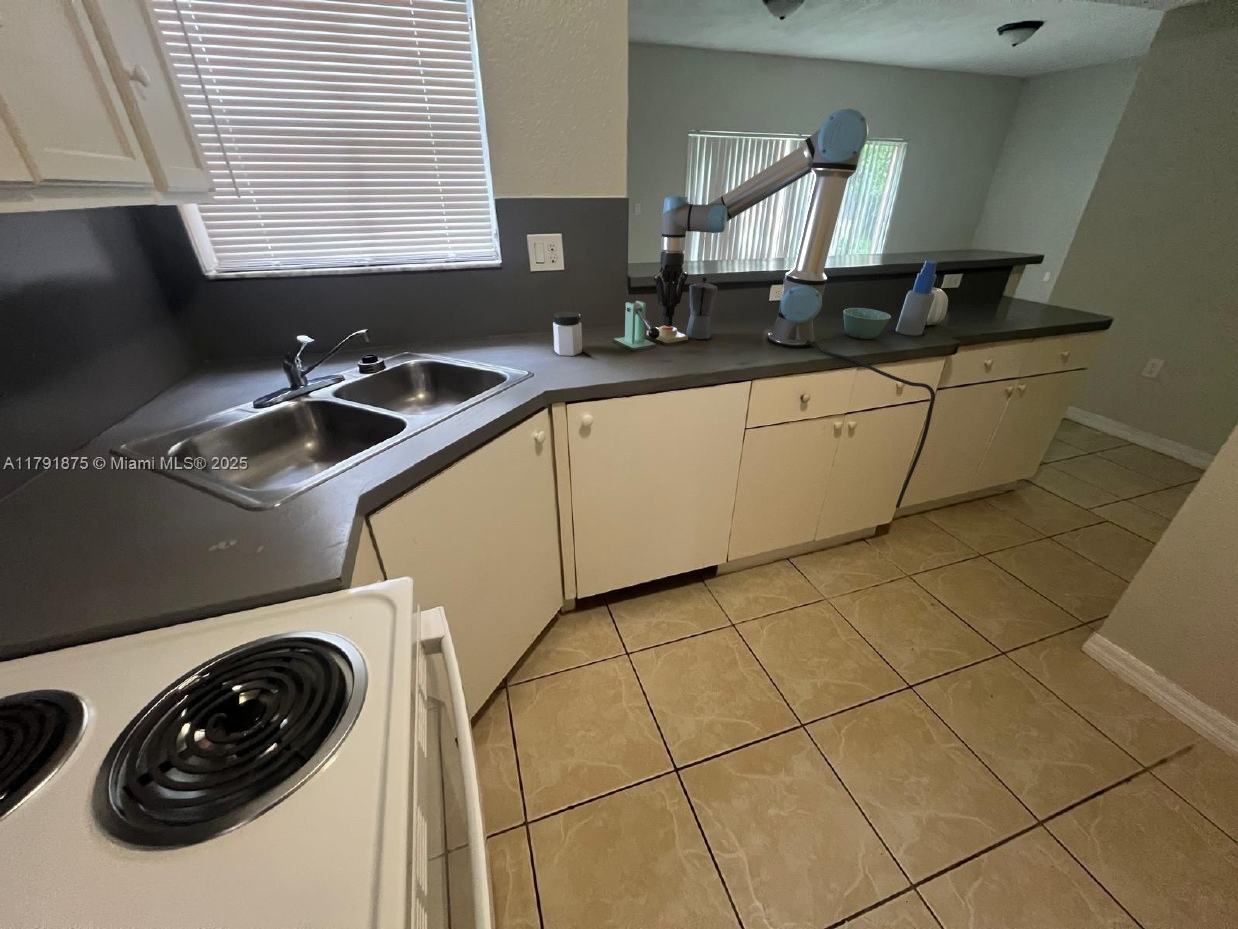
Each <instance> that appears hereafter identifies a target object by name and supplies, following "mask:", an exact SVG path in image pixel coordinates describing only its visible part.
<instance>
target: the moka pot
mask: <svg viewBox="0 0 1238 929" xmlns="http://www.w3.org/2000/svg"><path fill="white" fill-rule="evenodd" d="M701 280H702V282H698V283H693V284H690V285H689V309H690V312H689V313H690V314H689V320H688V324H687V327H686V331H685V335H687V336H688V338H691V339H693V340H694V339H695V340H707V339H710V338H711V330H712V329H711V325H712V324H711V314H712V310H713V309H714V305H715V301H716V297H717V292H718V286H716V285H714V284H711V283H708V282H707V280H708V278H707V277H702V279H701Z"/></svg>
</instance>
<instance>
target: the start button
mask: <svg viewBox="0 0 1238 929" xmlns="http://www.w3.org/2000/svg"><path fill="white" fill-rule="evenodd" d="M661 327H662V329H663V330H673V327H674V326H673V325H672V326H671V327H668V326H665V325H664V324H663V325H662V326H661Z"/></svg>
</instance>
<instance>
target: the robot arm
mask: <svg viewBox="0 0 1238 929" xmlns="http://www.w3.org/2000/svg"><path fill="white" fill-rule="evenodd" d="M868 136H869V124H868V121H867V119H866V117H865V116H864V115H863V113H862V112H860V111H859V110H857V109H853V108H842V109H839V110H837V111H835V112H832V113H831V114H830V115H829V116H828V117H827V118H826V119H825V120H824V121H823V123H822V124H821V127H820V128H819V129H818V130H816V131H815V132H814V133H813V134H812V135H810V136H809V137H807V138H806V139H804V140H803V142H802V144H801V146H800V147H798V148H796V149H795V150H793V151H792V152H789V153H788V154H787V155H785V156H783V157H782V158H780V159H778V160H777V161H776V162H774V163H773V164H771V165H769V166H767V167H766V168H764V169H763V170H760V172H758V173H757V174H755V175H753V176H752V177H750V178H749V179H746V180H745V181H743V182H742V183H740V184H739V185H737V186H736V187H734V188H732V189H731V190H729V191H727V192H726V193H724V194H723V195H721V196H720V197H718V198H716V199H715V200H713V201H711V202H710V203H708V204H694V203H690V201H689V197H688V196H679V195H669V196H666V197H665V198H664V200H663V208H662V209H663V210H662V224H661V226H662V228H661V244H660V250H661V252H660V262H659V263H660V269H659V273H658V274H656V275H653V277H652V279H653V280H654V282H655V289H656V295H657V303H658V305H660V306H662V307H663V308H662V316H663V325H665V326H668V327H671V326H673V318H674V316H675V310H676V307H678V305H679V304H680V303H681V300H682V297H683V292H684V288H685V285H686V284H685V283H686V282H687V279H688V277H689V273H687V272H684V268H683V265H684V263H685V252H684V251H685V250H686V239H687V238H686V236H687V232H689V233H691V232H695V233H711V234H718V233H719V234H720V233H724V232H725V230H726V227H727V222H729V221H731V220H732V219H734V218H735V217H737V216H739V215H741V214H743V213H744V212H746V211H748V210H749V209H751V208H752V207H754V206H756V205H757V204H759V203H761V202H763V201H764V200H766V199H768V198H769V197H771V196H772V195H775V194H776V193H778V192H779V191H782V190H783V189H785V188H787V187H788V186H790V185H791V184H793V183H795V182H796V181H798V180H800V179H802V178H803V177H805V176H807V175H809V174H810V173H812V174H813V175H814V179H813V184H812V189H811V192H810V198H809V202H808V205H807V209H806V214H805V218H804V223H803V227H802V231H801V236H800V240H799V243H798V244H799V245H798V249H797V254H796V258H795V262H794V265H793V269H791V270H790V271H787V272H786V273H785V275H784V278H783V284H782V290H781V296H780V302H779V307H778V313H777V316H776V319H775V321H774V323H773V325H772V327H771V329H770V331H769V333H768V337H767V340H768V342H770V343H772V344H773V345H776V346H781V347H785V348H795V349H802V348H808V347H813V348H814V349H816V350H817V351H819V352H820V353H823V354H824V355H827V356H831V357H834V358H839V359H842V360H847V361H848V362H852V363H854V364H857V365H859V366H861V367H863V368H865V369H868V370H870V371H873V372H875V373H877V374H879V375H881V376H884V377H886V378H888V379H890V380H893V381H896V382H899V383H901V384H904V385H907V386H910V387H920V388H925V389H926V390H927V391H928V392H929V394H930V401H929V404H928V405H929V406H928V410H927V414H926V419H925V420H926V421H925V424H924V429H923V432H922V435H921V439H920V442H919V445H918V448H917V451H916V454H915V457H914V459H913V461H912V464H911V466H910V469H909V471H908V474H907V476H906V478H905V480H904V483H903V486H902V489H901V491H900V494H899V496H898V498H897V501H896V505H895V508H896V509H900V506H901V504H902V501H903V498H904V495H905V493H906V490H907V488H908V485H909V483H910V481H911V478H912V476H913V473H914V471H915V469H916V466H917V464H918V462H919V459H920V456H921V454H922V451H923V448H924V446H925V442H926V440H927V436H928V432H929V429H930V425H931V421H932V414H933V409H934V405H935V403H936V402H935V401H936V393H935V390H934V388H933V387H932V386H931V385H929V384H927V383H923V382H913V381H909V380H906V379H903V378H900V377H899V376H895V375H894V374H893V375H892V374H891V373H888V372H885V371H883V370H880V369H878V368H876V367H874V366H872V365H870V364H868V363H865V362H863V361H860V360H858V359H856V358H853V357H850V356H847V355H843V354H840V353H835V352H831V351H828V350H825V349H823V348H822V347H821V346H819V345H817V344H816V343H814V342H815V333H814V332H815V331H814V319H815V318H816V317H817V316H818V314H819V313H820V312H821V310H822V308H823V296H824V292H825V288H826V284H827V281H828V276H827V275H826V274H825V271H824V270H825V267H826V264H827V260H828V256H829V254H830V248H831V244H832V241H833V237H834V234H835V230H836V225H837V222H838V218H839V214H840V210H841V206H842V202H843V198H844V196H845V191H846V188H847V183H848V180H849V179H850V178H851V177H852V176H853V175H854V174H856V172H857V168H858V165H859V162H860V158H861V155H862V150H863V149H864V147H865V145H866V143H867V140H868Z"/></svg>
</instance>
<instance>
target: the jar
mask: <svg viewBox="0 0 1238 929" xmlns="http://www.w3.org/2000/svg"><path fill="white" fill-rule="evenodd" d="M582 324H583V323H581V314H580V313H579V312H578V311H571V310H562V311H557V312H555V313H554V314H553V322H552V328H553V347H554V348H553V349H554V352H555V353H556V354H557V355H559V356H565V357H566V356H569V357H574V356H576V355H579V354H581V353H583V329H582V328H583V327H582V326H583V325H582Z"/></svg>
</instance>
